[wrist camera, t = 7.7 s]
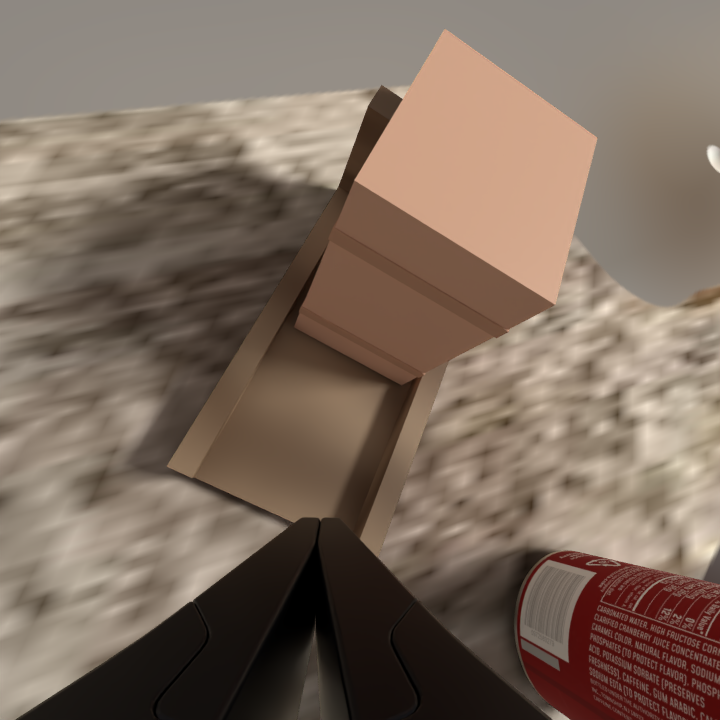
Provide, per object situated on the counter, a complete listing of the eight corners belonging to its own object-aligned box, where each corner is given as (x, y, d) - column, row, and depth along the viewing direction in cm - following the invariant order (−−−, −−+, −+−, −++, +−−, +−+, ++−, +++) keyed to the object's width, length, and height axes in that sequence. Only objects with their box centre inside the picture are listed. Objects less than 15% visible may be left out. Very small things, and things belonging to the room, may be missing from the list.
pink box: (402, 386, 19) (556, 307, 10) (292, 327, 18) (351, 180, 9) (445, 278, 22) (599, 137, 13) (351, 222, 21) (443, 26, 12)
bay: (362, 553, 17) (497, 637, 8) (173, 467, 16) (99, 459, 7) (473, 259, 24) (612, 135, 15) (346, 181, 23) (419, -5, 14)
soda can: (478, 627, 18) (869, 873, 7) (551, 519, 21) (914, 571, 10) (572, 741, 18) (1123, 1176, 7) (633, 616, 20) (1094, 782, 10)
